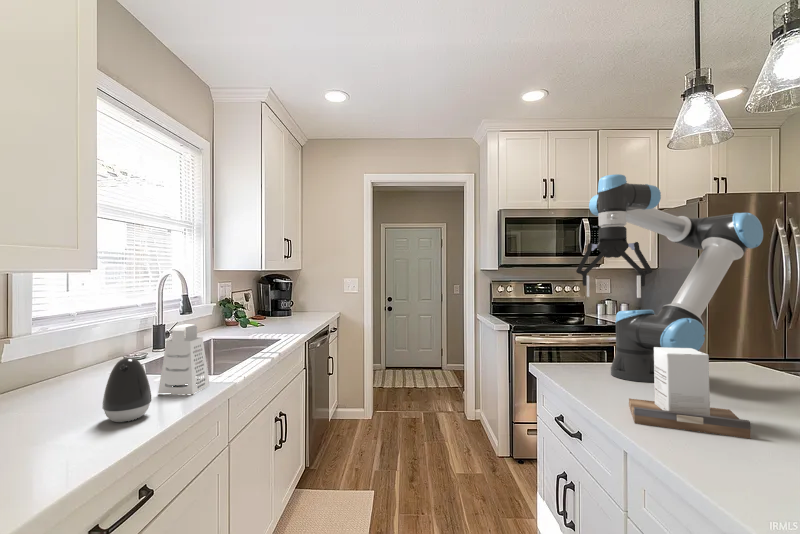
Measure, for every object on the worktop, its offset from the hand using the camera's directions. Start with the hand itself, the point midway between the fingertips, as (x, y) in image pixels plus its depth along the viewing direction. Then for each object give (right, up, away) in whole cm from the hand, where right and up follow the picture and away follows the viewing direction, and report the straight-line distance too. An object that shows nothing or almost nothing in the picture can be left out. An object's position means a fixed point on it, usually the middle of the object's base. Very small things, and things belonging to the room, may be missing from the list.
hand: (612, 297), depth 123 cm
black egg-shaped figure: (-133, -29, -21) cm, 137 cm away
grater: (-131, -29, +3) cm, 134 cm away
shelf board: (+5, -28, -23) cm, 37 cm away
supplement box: (+5, -27, -22) cm, 35 cm away
